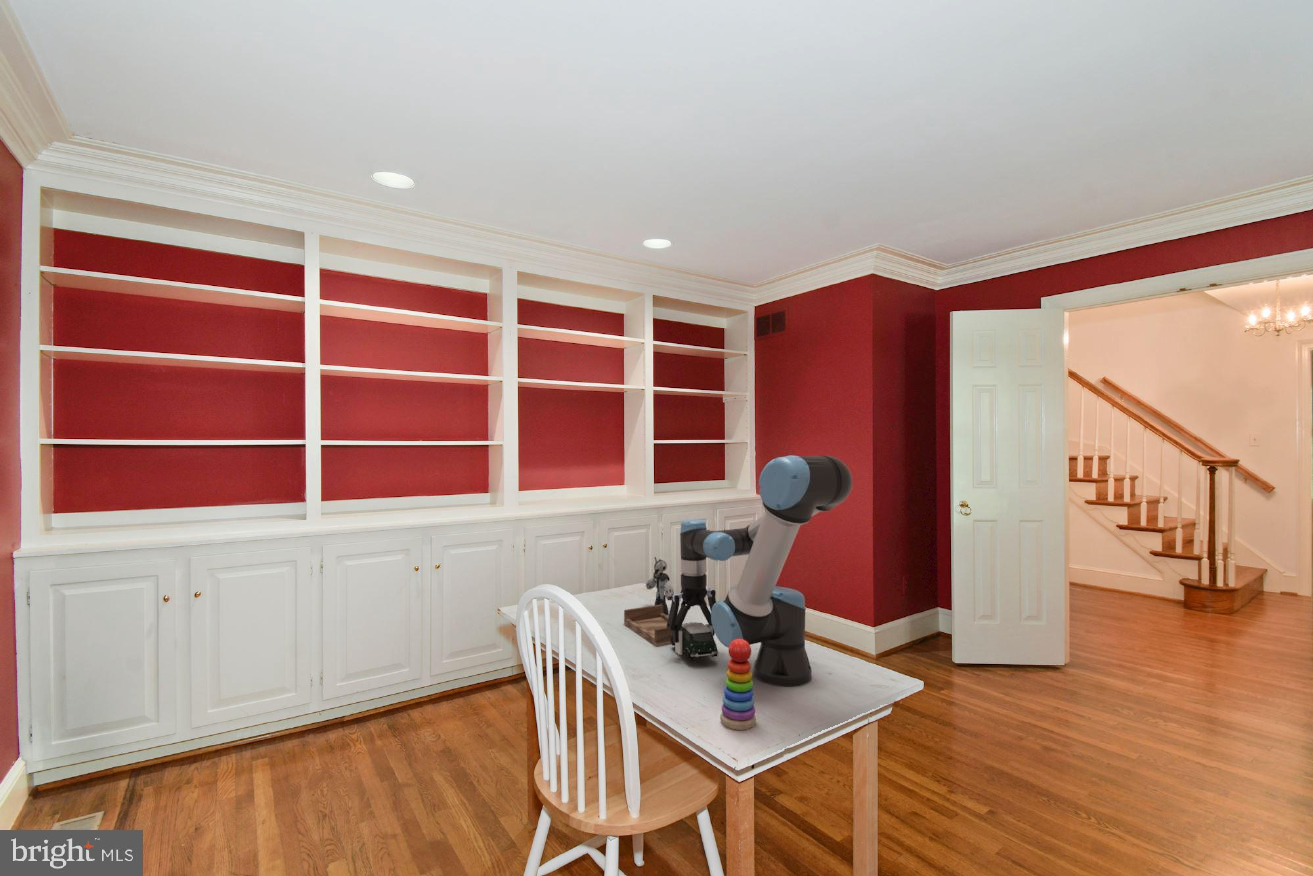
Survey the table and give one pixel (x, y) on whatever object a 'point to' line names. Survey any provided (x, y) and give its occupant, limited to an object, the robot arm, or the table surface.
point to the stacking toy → (738, 688)
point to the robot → (661, 585)
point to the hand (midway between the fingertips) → (694, 650)
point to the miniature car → (697, 640)
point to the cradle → (649, 624)
